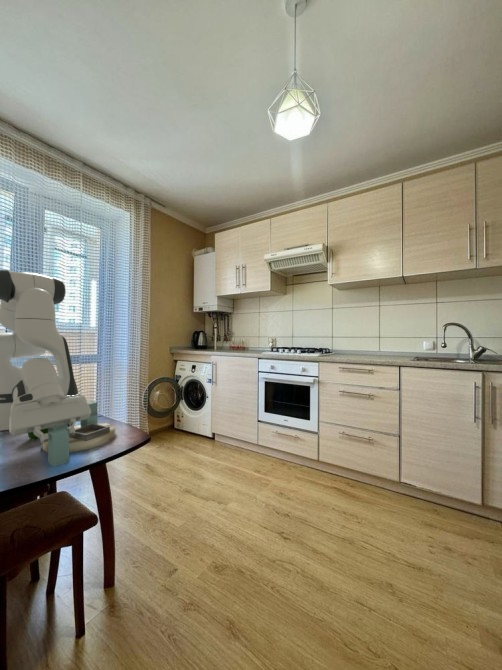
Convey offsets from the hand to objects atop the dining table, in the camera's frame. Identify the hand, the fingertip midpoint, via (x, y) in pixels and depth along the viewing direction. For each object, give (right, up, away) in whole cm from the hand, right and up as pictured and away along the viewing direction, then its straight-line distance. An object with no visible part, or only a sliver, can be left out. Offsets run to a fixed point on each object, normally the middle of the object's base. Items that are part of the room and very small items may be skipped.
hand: (59, 437), depth 81 cm
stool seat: (-4, -7, +17) cm, 19 cm away
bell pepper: (-21, -8, +21) cm, 31 cm away
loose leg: (0, -7, 0) cm, 7 cm away
